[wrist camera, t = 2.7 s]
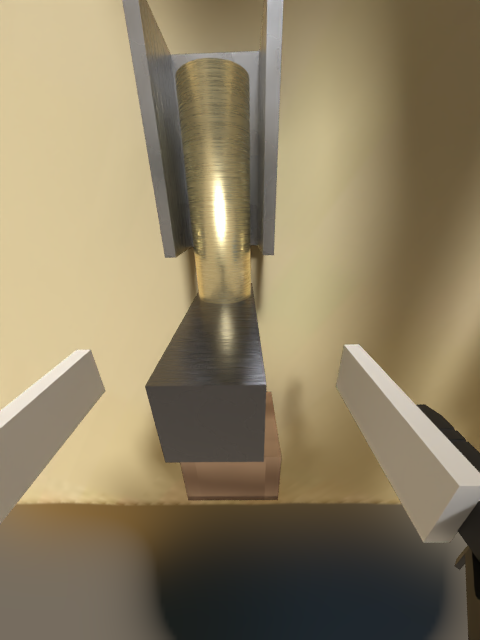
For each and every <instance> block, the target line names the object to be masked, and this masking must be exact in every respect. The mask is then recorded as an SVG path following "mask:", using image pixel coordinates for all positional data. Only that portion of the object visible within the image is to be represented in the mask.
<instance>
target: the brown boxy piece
mask: <svg viewBox="0 0 480 640" xmlns="http://www.w3.org/2000/svg"><path fill="white" fill-rule="evenodd" d="M180 465H181V469H182V473H183V478H184V482H185V487H186V491H187V496H188V500H278V493H279V481H280V469H281V450H280V444H279V438H278V432H277V426H276V420H275V413H274V407H273V401H272V395H271V392H266V412H265V443H264V462H180Z"/></svg>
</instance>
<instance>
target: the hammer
mask: <svg viewBox="0 0 480 640" xmlns="http://www.w3.org/2000/svg"><path fill="white" fill-rule="evenodd" d="M175 81H176V91H177V100H178V109H179V118H180V127H181V136H182V145H183V154H184V163H185V172H186V182H187V191H188V200H189V209H190V218H191V227H192V236H193V245H194V254H195V263H196V273H197V282H198V291H199V292H198V294H197V296H196V297H195V299H194V301H193V303H192V304H191V306H190V308H189V310H188V311H187V313H186V315H185V317H184V318H183V320H182V322H181V324H180V326H179V327H178V329H177V331H176V333H175V334H174V336H173V338H172V340H171V341H170V343H169V345H168V347H167V349H166V350H165V352H164V354H163V356H162V357H161V359H160V361H159V363H158V364H157V366H156V368H155V370H154V372H153V373H152V375H151V377H150V379H149V380H148V382H147V384H146V386H145V388H146V391H147V395H148V399H149V403H150V406H151V410H152V414H153V418H154V421H155V425H156V429H157V432H158V436H159V440H160V444H161V447H162V451H163V455H164V459H165V462H264V443H265V412H266V379H265V371H264V364H263V357H262V350H261V343H260V336H259V329H258V322H257V315H256V308H255V301H254V294H253V287H252V283H251V260H250V79H249V74H248V73H247V71H246V70H245V69H244V68H243V67H242V66H240V65H239V64H237V63H235V62H232V61H229V60H226V59H220V58H201V59H196V60H192V61H190V62H187V63H185V64H183V65H182V66H181V67H180V68H179V69H178V70H177V72H176V74H175Z"/></svg>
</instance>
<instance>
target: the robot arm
mask: <svg viewBox="0 0 480 640" xmlns="http://www.w3.org/2000/svg"><path fill="white" fill-rule="evenodd" d="M336 388H337V390H338V392H339V393H340V395H341V397H342V399H343V401H344V402H345V404H346V406H347V408H348V409H349V411H350V413H351V415H352V417H353V418H354V420H355V422H356V424H357V425H358V427H359V429H360V431H361V432H362V434H363V436H364V438H365V440H366V441H367V443H368V445H369V447H370V448H371V450H372V452H373V454H374V456H375V457H376V459H377V461H378V463H379V464H380V466H381V468H382V470H383V472H384V473H385V475H386V477H387V479H388V480H389V482H390V484H391V486H392V487H393V489H394V491H395V493H396V495H397V496H398V498H399V500H400V502H401V503H402V505H403V507H404V509H405V510H406V512H407V514H408V516H409V517H410V519H411V521H412V523H413V525H414V526H415V528H416V530H417V532H418V534H419V535H420V537H421V539H422V541H423V542H424V543H433V542H434V543H442V542H443V543H445V542H446V543H448V542H451V540H452V539H453V538H454V536H455V535H456V534H457V532H459V533H460V535H461V536H462V537H463V539H464V540H465V542H466V543H467V545H468V546H467V547H466V548H465V549H464V551H463V552H462V553H461V554H460V555H459V557H458V558H457V559H456V563H455V567H457V568H458V569H461V568H462V566H463V565H464V564H465V565H466V566H465V567H466V591H467V616H468V637H469V638H468V640H480V453H479V452H478V451H477V450H476V449H475V448H474V447H473V446H472V445H471V444H470V443H469V442H466V440H465V438H464V437H463V436H462V435H461V434H460V433H459V432H458V431H455V430H454V427H453V426H452V425H451V424H450V423H449V422H448V421H447V420H446V419H445V418H443V417H442V416H441V415H440V414H439V413H437V412H435V411H434V410H432V409H431V408H429V407H428V406H426V405H416V404H415V403H414V402H413V401H412V400H411V399H410V398H409V397H408V396H407V395H406V394H405V393H404V392H403V391H402V390H401V389H400V387H399V386H398V385H397V384H396V383H395V382H394V381H393V380H392V379H391V378H390V377H389V376H388V375H387V374H386V373H385V371H384V370H383V369H382V368H381V367H380V366H379V365H378V364H377V363H376V362H375V361H374V360H373V359H372V358H371V357H370V356H369V354H368V353H367V352H366V351H365V350H364V349H363V348H362V347H361V346H360V345H359V344H352V345H344V347H343V352H342V357H341V363H340V368H339V373H338V378H337V383H336ZM104 392H105V389H104V386H103V383H102V380H101V377H100V374H99V372H98V369H97V366H96V363H95V360H94V358H93V355H92V352H91V350H76V351H74V352H73V353H72V354H71V355H69V356H68V357H67V358H66V359H64V360H63V361H62V362H60V363H59V364H58V365H57V366H55V367H54V368H53V369H52V370H50V371H49V372H48V373H47V374H45V375H44V376H43V377H42V378H40V379H39V380H38V381H37V382H35V383H34V384H33V385H32V386H30V387H29V388H28V389H27V390H25V391H24V392H23V393H22V394H20V395H19V396H18V397H17V398H15V399H14V400H13V401H12V402H10V403H9V404H8V405H6V406H5V407H4V408H3V409H1V410H0V524H1V523H2V521H3V520H4V519H5V517H6V516H7V515H8V513H9V512H10V511H11V510H12V508H13V507H14V506H15V505H16V504H17V502H18V501H19V500H20V498H21V497H22V496H23V495H24V493H25V492H26V491H27V490H28V488H29V487H30V486H31V484H32V483H33V482H34V481H35V479H36V478H37V477H38V476H39V474H40V473H41V472H42V471H43V469H44V468H45V467H46V465H47V464H48V463H49V462H50V460H51V459H52V458H53V457H54V455H55V454H56V453H57V451H58V450H59V449H60V448H61V446H62V445H63V444H64V443H65V441H66V440H67V439H68V438H69V436H70V435H71V434H72V432H73V431H74V430H75V429H76V427H77V426H78V425H79V424H80V422H81V421H82V420H83V419H84V417H85V416H86V415H87V413H88V412H89V411H90V410H91V408H92V407H93V406H94V405H95V403H96V402H97V401H98V399H99V398H100V397H101V396H102V394H103V393H104Z"/></svg>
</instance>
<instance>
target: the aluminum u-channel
mask: <svg viewBox="0 0 480 640" xmlns="http://www.w3.org/2000/svg"><path fill="white" fill-rule="evenodd" d="M122 1H123V7H124V13H125V19H126V25H127V31H128V37H129V43H130V49H131V55H132V61H133V67H134V73H135V79H136V85H137V91H138V97H139V103H140V109H141V115H142V121H143V127H144V133H145V139H146V145H147V151H148V157H149V164H150V170H151V176H152V182H153V188H154V194H155V200H156V206H157V212H158V218H159V224H160V230H161V236H162V242H163V248H164V254H165V258H171V257H177V256H179V255H180V254H182V253H183V252H185V251H187V250H188V249H190V248H191V247H194V245H193V236H192V227H191V218H190V209H189V200H188V191H187V182H186V172H185V163H184V154H183V145H182V136H181V127H180V118H179V109H178V100H177V91H176V81H175V74H176V72H177V70H178V69H179V68H180V67H181V66H182V65H183V64H185V63H187V62H190V61H192V60H196V59H201V58H220V59H226V60H229V61H232V62H235V63H237V64H239V65H240V66H242V67H243V68H244V69H245V70H246V71H247V73H248V74H249V79H250V245H258V247H259V249H260V251H261V253H262V255H274V234H275V208H276V182H277V155H278V129H279V103H280V77H281V50H282V24H283V0H264V9H263V19H262V28H261V38H260V48H259V51H246V52H222V53H199V54H176V55H171V54H170V52H169V50H168V47H167V45H166V43H165V41H164V38H163V36H162V34H161V32H160V29H159V27H158V25H157V23H156V21H155V18H154V16H153V14H152V12H151V9H150V7H149V5H148V3H147V0H122Z"/></svg>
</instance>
